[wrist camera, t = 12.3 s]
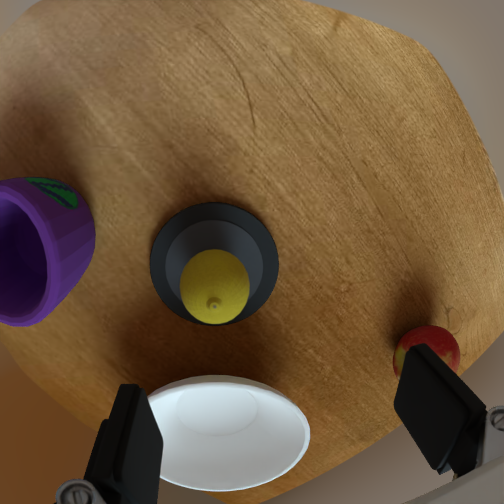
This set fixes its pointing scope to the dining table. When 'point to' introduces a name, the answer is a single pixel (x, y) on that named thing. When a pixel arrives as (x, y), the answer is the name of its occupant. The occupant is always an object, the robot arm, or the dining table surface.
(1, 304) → the mug
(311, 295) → the dining table surface
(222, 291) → the lemon
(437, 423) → the robot arm
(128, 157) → the dining table surface
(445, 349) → the apple
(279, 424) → the bowl
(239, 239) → the plate
